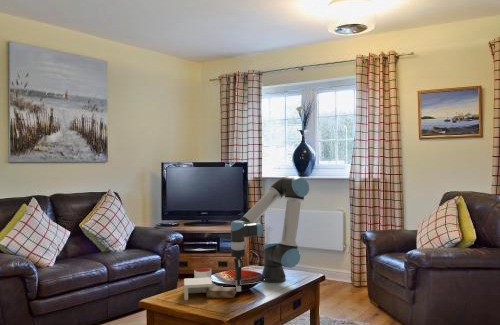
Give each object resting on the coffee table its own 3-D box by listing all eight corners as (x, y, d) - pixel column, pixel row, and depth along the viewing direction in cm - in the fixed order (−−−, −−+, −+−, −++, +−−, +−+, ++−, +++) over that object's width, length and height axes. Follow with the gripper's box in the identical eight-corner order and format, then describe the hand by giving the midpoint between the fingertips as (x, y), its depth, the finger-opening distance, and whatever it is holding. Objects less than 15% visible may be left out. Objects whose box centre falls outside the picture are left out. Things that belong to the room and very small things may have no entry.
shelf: (210, 291, 264) (210, 277, 264) (212, 298, 250) (212, 283, 250) (184, 292, 262) (184, 278, 262) (184, 300, 248) (184, 285, 248)
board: (236, 293, 260) (236, 286, 260) (233, 298, 251) (233, 290, 251) (209, 292, 262) (209, 285, 262) (206, 297, 253) (206, 290, 253)
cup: (210, 289, 268) (210, 272, 268) (193, 289, 269) (193, 272, 269) (212, 284, 278) (212, 268, 278) (195, 284, 279) (195, 268, 279)
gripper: (229, 247, 264) (230, 288, 264) (232, 251, 251) (233, 294, 251) (242, 246, 265) (243, 287, 265) (246, 250, 252) (246, 294, 252)
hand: (238, 291), depth 258 cm, fingers closed
